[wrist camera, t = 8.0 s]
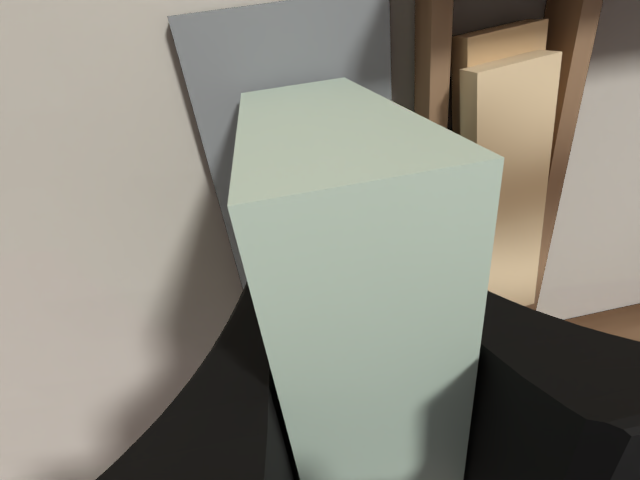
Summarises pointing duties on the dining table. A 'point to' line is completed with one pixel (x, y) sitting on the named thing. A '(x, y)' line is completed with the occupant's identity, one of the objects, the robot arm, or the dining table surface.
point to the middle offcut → (492, 50)
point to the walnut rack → (576, 45)
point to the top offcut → (515, 156)
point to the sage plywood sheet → (365, 275)
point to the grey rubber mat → (273, 64)
